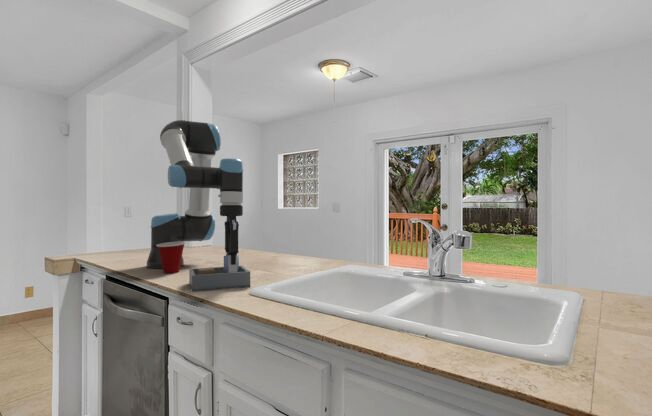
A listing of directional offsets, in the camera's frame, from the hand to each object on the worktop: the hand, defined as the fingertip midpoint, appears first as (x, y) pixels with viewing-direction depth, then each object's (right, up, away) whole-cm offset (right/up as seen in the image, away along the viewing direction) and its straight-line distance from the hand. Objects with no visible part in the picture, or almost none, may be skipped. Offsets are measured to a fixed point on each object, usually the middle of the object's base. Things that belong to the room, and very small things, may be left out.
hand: (231, 272), depth 124 cm
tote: (-4, -4, -1) cm, 6 cm away
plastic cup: (-30, -4, +23) cm, 38 cm away
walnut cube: (-7, -3, -3) cm, 9 cm away
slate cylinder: (0, -1, 0) cm, 1 cm away
